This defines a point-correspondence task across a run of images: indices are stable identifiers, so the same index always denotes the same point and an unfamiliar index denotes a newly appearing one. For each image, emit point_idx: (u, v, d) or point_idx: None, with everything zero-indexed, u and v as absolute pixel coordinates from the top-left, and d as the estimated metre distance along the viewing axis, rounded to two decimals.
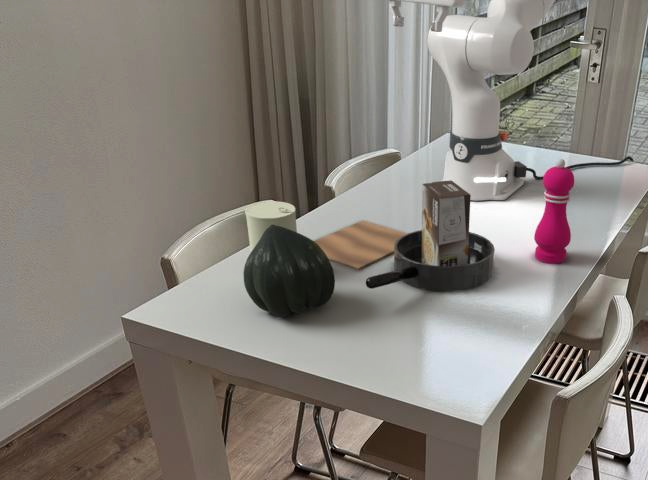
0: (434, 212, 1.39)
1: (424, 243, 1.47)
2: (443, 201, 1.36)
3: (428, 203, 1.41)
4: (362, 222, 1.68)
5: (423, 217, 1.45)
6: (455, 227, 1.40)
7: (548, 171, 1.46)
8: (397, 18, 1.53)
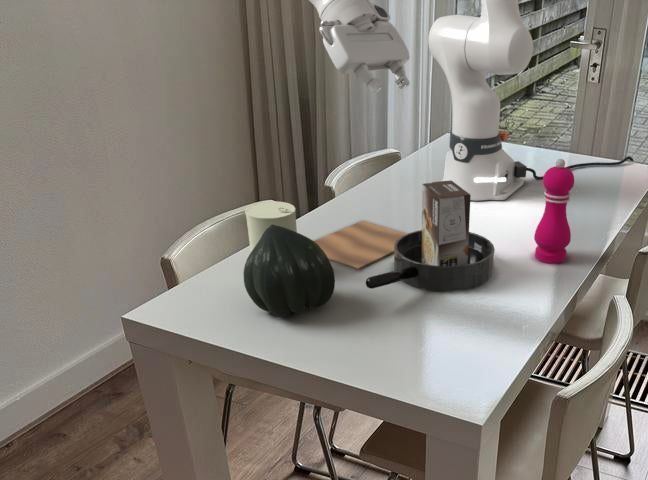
0: (434, 212, 1.39)
1: (424, 243, 1.47)
2: (443, 201, 1.36)
3: (428, 203, 1.41)
4: (362, 222, 1.68)
5: (423, 217, 1.45)
6: (455, 227, 1.40)
7: (548, 171, 1.46)
8: None
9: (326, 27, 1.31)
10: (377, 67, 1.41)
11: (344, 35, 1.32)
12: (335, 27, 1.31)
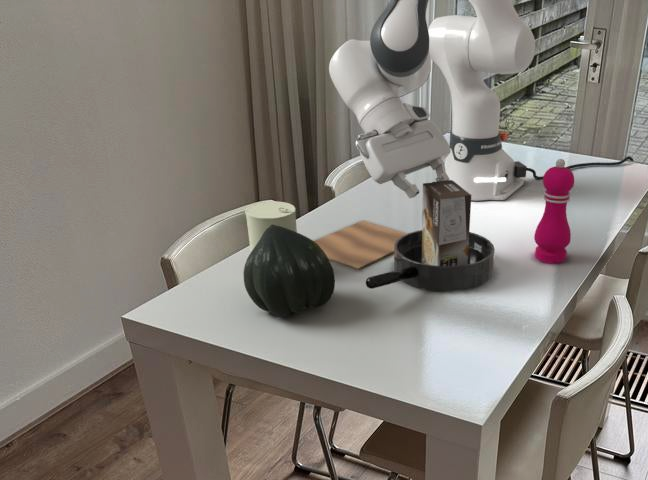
0: (435, 212, 1.39)
1: (424, 243, 1.47)
2: (444, 201, 1.36)
3: (429, 203, 1.41)
4: (362, 222, 1.68)
5: (423, 216, 1.44)
6: (456, 227, 1.40)
7: (548, 171, 1.46)
8: None
9: (362, 141, 1.35)
10: (417, 167, 1.44)
11: (380, 147, 1.35)
12: (370, 141, 1.34)
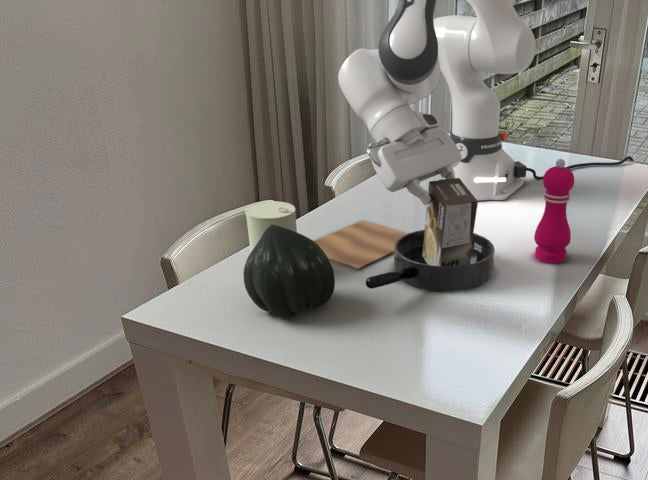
0: (440, 216, 1.37)
1: (426, 239, 1.45)
2: (450, 208, 1.34)
3: (434, 204, 1.38)
4: (362, 222, 1.68)
5: (428, 213, 1.42)
6: (460, 231, 1.38)
7: (548, 171, 1.46)
8: None
9: (374, 149, 1.34)
10: (428, 175, 1.43)
11: (392, 155, 1.34)
12: (382, 149, 1.33)
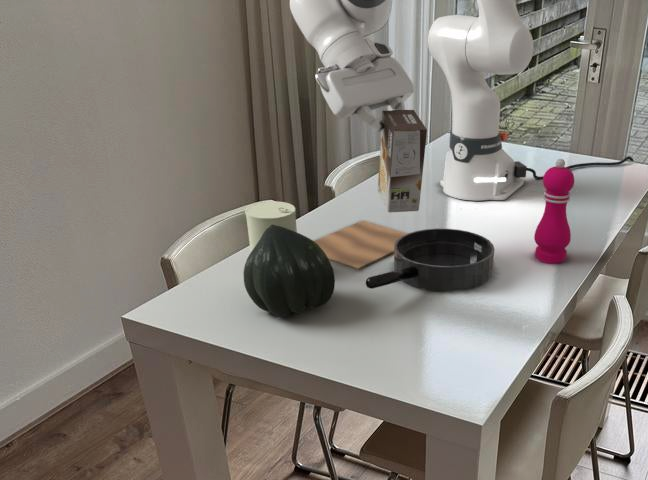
0: (389, 143, 1.37)
1: (380, 171, 1.46)
2: (397, 134, 1.34)
3: (385, 132, 1.39)
4: (362, 222, 1.68)
5: (381, 144, 1.43)
6: (409, 160, 1.38)
7: (548, 171, 1.46)
8: None
9: (322, 74, 1.34)
10: (379, 105, 1.43)
11: (340, 81, 1.34)
12: (330, 74, 1.33)
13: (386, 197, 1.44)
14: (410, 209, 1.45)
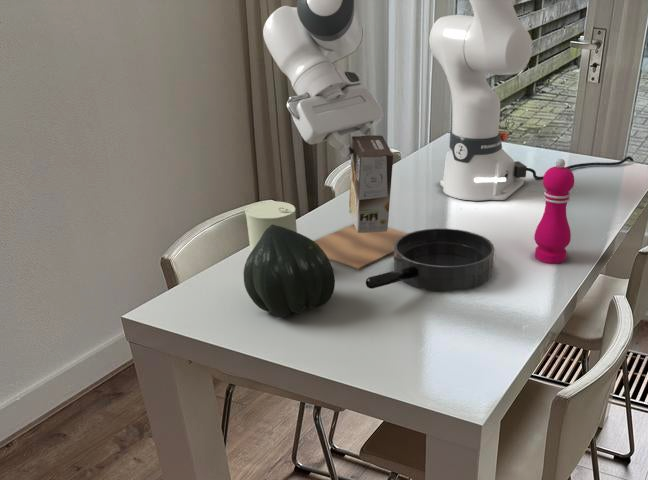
0: (357, 168, 1.44)
1: (350, 193, 1.52)
2: (365, 159, 1.41)
3: (354, 157, 1.46)
4: None
5: (351, 168, 1.50)
6: (377, 184, 1.45)
7: (548, 171, 1.46)
8: None
9: (293, 103, 1.41)
10: (349, 130, 1.50)
11: (310, 109, 1.41)
12: (301, 102, 1.40)
13: (356, 218, 1.50)
14: (379, 230, 1.52)
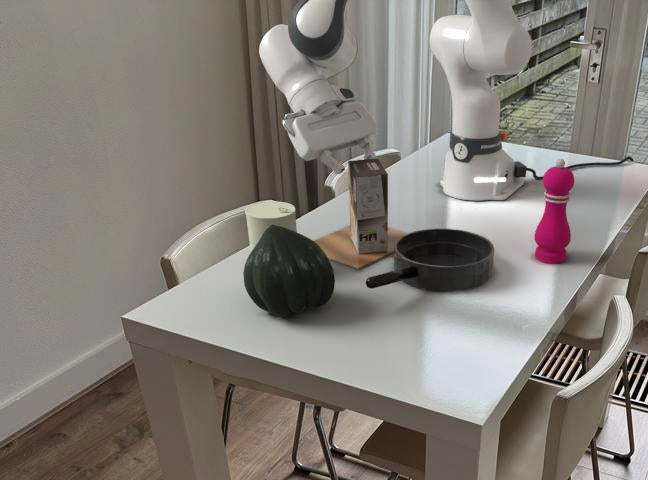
0: (354, 189, 1.48)
1: (350, 217, 1.56)
2: (360, 179, 1.45)
3: (351, 180, 1.49)
4: None
5: (349, 192, 1.53)
6: (373, 204, 1.48)
7: (548, 171, 1.46)
8: None
9: (289, 120, 1.43)
10: (345, 146, 1.52)
11: (306, 126, 1.43)
12: (296, 120, 1.43)
13: (356, 240, 1.53)
14: (379, 250, 1.54)
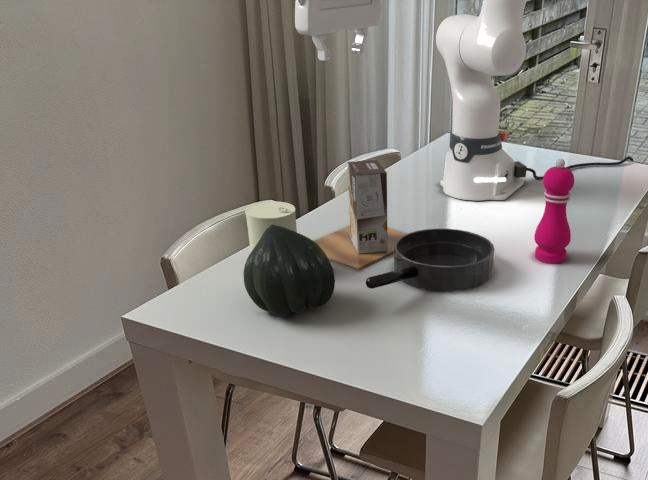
0: (353, 188, 1.48)
1: (350, 218, 1.56)
2: (359, 178, 1.45)
3: (350, 180, 1.50)
4: None
5: (349, 193, 1.54)
6: (373, 203, 1.49)
7: (548, 171, 1.46)
8: None
9: None
10: None
11: (317, 3, 1.33)
12: None
13: (355, 240, 1.53)
14: (379, 250, 1.54)
